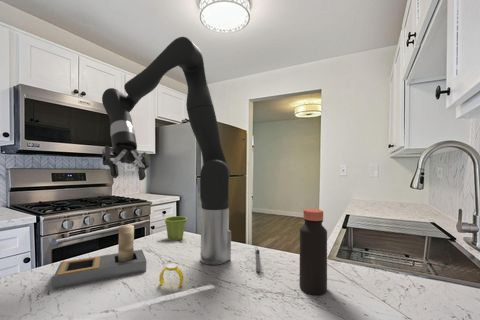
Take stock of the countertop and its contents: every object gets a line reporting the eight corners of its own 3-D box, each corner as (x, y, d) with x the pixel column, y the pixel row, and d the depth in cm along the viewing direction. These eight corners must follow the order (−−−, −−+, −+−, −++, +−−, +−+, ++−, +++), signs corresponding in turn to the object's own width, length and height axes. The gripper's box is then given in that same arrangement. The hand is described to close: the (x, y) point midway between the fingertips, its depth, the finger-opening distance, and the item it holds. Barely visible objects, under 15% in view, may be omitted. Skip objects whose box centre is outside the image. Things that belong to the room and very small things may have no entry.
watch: (183, 288, 60) (185, 265, 60) (179, 294, 57) (181, 270, 57) (162, 284, 61) (164, 261, 61) (156, 289, 58) (158, 266, 58)
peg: (132, 264, 71) (133, 224, 71) (133, 269, 68) (134, 227, 68) (117, 266, 69) (118, 226, 69) (118, 272, 66) (119, 229, 66)
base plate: (141, 262, 75) (142, 248, 75) (146, 274, 66) (146, 259, 67) (60, 276, 65) (60, 261, 65) (52, 293, 56) (53, 276, 56)
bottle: (294, 284, 62) (294, 209, 62) (314, 280, 64) (314, 207, 65) (311, 298, 56) (311, 213, 56) (333, 292, 58) (333, 212, 59)
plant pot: (166, 235, 103) (166, 216, 104) (187, 235, 104) (188, 216, 105) (161, 242, 94) (161, 221, 94) (185, 242, 95) (185, 220, 95)
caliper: (259, 273, 69) (260, 251, 69) (256, 273, 69) (256, 251, 69) (257, 248, 89) (257, 232, 89) (254, 248, 89) (254, 232, 89)
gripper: (106, 125, 73) (111, 170, 67) (148, 135, 84) (156, 174, 78) (96, 138, 77) (100, 182, 70) (137, 146, 88) (144, 185, 81)
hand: (129, 178), depth 74 cm, fingers open, 8 cm apart
